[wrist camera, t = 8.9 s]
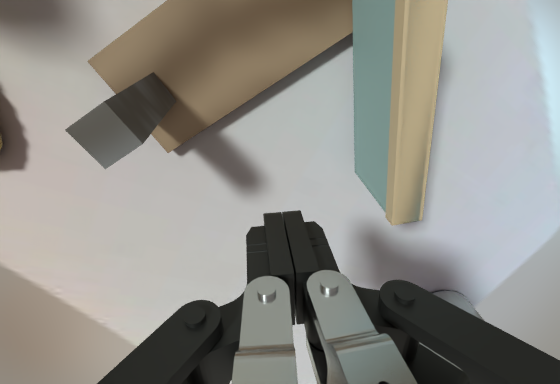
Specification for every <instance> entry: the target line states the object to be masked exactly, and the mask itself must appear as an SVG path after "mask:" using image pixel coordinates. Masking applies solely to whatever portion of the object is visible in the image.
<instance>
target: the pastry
mask: <svg viewBox="0 0 560 384" xmlns="http://www.w3.org/2000/svg"><path fill="white" fill-rule="evenodd" d="M2 145H3V142H2V136H1V134H0V150H1V148H2Z"/></svg>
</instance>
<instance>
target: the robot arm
mask: <svg viewBox="0 0 560 384" xmlns="http://www.w3.org/2000/svg"><path fill="white" fill-rule="evenodd" d="M263 215H264V226H258V227H251V229H250V230H249V232H248V234H247V235H246V244H247V286H246V288H245V291H244V292H243V294H242V295H241V296H240V297H239V298H237V299H236V300H234V301H233V302H230V303H228V304H225V305H223V306H220V307H218V306H217V305H216V304H214V303H213V302H210V301H207V300H197V301H193V302H190V303H187V304H185V305H184V306H182V307H181V308H180V309H178V310H177V311H176V312H175V313H174V314H173V315H172V316H171V317H170V318H169V319H167V320H166V321H165V322H164V323H163V324H162V325H161V326H160V327H159V328H158V329H156V330H155V331H154V332H153V333H152V334H151V335H150V336H149V337H148V338H147V339H145V340H144V341H143V342H142V343H141V344H140V345H139V346H138V347H137V348H136V349H134V350H133V351H132V352H131V353H130V354H129V355H128V356H127V357H126V358H125V359H124V360H122V361H121V362H120V363H119V364H118V365H117V366H116V367H115V368H114V369H113V370H111V371H110V372H109V373H108V374H107V375H106V376H105V377H104V378H103V379H102V380H101V381H99V382H98V383H97V384H229V383H230V381H231V380H232V384H298V380H297V368H296V356H295V348H294V343H293V330H292V325H295V317H296V322H297V324H304V325H305V330H306V346H307V350H308V353H309V357H310V360H311V364H312V367H313V371H314V374H315V378H316V381H317V384H560V360H557V359H556V358H554V357H552V356H550V355H548V354H546V353H544V352H543V351H541V350H538V349H537V348H535V347H533V346H531V345H529V344H527V343H525V342H523V341H522V340H520V339H517V338H516V337H514V336H512V335H510V334H508V333H506V332H504V331H502V330H501V329H499V328H497V327H494V326H493V325H491V324H489V323H487V322H485V321H484V320H483V319H482V317H481V316H480V315H479V314H478V312H477V311H476V310H475V309H474V307H473V306H472V305H471V304H470V303H469V301H468V300H467V299H466V298H465V297H464V296H463V295H462V294H460V293H458V292H454V291H439V292H435V293H430V292H428V291H426V290H424V289H423V288H421V287H419V286H417V285H415V284H413V283H410V282H407V281H403V280H392V281H388V282H386V283H385V284H383V285H382V287H381V289H380V291H379V290H372V289H366V288H361V287H358V286H355V285H353V284H351V282H350V281H349V279H348V278H347V277H346V276H344V275H343V274H341V273H340V271H339V269H338V266H337V264H336V261H335V259H334V256H333V254H332V251H331V249H330V246H329V244H328V241H327V239H326V236H325V234H324V231H323V229H322V228H321V227H320V226H319V225H318V224H317V223H316V222H314V221H313V222H304V220H303V217H302V214H301V211H300V210H299V211H288V212H282V213H281V212H277V213H265V214H263Z"/></svg>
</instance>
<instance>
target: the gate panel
mask: <svg viewBox="0 0 560 384" xmlns="http://www.w3.org/2000/svg"><path fill="white" fill-rule="evenodd" d="M447 4H448V0H352V10H353V81H354V151H355V173H356V174H357V175H358V177H359V178H360V179H361V181H362V182H363V183H364V185H365V186H366V187H367V189H368V190H369V191H370V193H371V194H372V195H373V197H374V198H375V199H376V201H377V202H378V203H379V205H380V206H381V207H382V209H383V210H384V211H385V213H386V216H385V217H386V218H387V220H388V221H389V222H390V224H391V225H398V224H404V223H409V222H415V221H420V220H422V215H423V207H424V198H425V190H426V182H427V173H428V165H429V156H430V148H431V139H432V131H433V122H434V114H435V106H436V97H437V89H438V80H439V72H440V63H441V55H442V46H443V38H444V30H445V21H446V13H447Z"/></svg>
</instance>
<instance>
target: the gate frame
mask: <svg viewBox="0 0 560 384" xmlns="http://www.w3.org/2000/svg"><path fill="white" fill-rule="evenodd" d="M352 32H353V10H352V0H167V1H166V2H164V3H163V4H162V5H160V6H159V7H158V8H157V9H155V10H154V11H153V12H151V13H150V14H149V15H147V16H146V17H145V18H143V19H142V20H141V21H139V22H138V23H137V24H136V25H134V26H133V27H132V28H130V29H129V30H128V31H126V32H125V33H124V34H122V35H121V36H120V37H118V38H117V39H116V40H115V41H113V42H112V43H111V44H109V45H108V46H107V47H105V48H104V49H103V50H101V51H100V52H99V53H98V54H96V55H95V56H94V57H92V58H91V59H90V60H88V63H89V64H90V65H91V66H92V67H93V68H94V69H95V71H96V72H97V73H98V74H99V75H100V76H101V77H102V79H103V80H104V81H105V82H106V83H107V84H108V85H109V87H110V88H111V89H112V90H113V91H114V92H115V93H116V95H114V96H113V97H111V98H109V99H108V100H106V101H104V102H103V103H101V104H100V105H99V106H97V107H96V108H95V109H93V110H92V111H90V112H89V113H88V114H86V115H85V116H84V117H82V118H81V119H79V120H78V121H77V122H75V123H74V124H72V125H71V126H70V127H68V128H67V129H66V131H67V132H68V133H69V134H70V135H71V136H72V137H73V138H74V139H75V140H76V141H77V142H78V143H79V144H80V145H81V146H82V147H83V148H84V149H85V150H86V151H87V152H88V153H89V154H90V155H91V156H92V157H93V158H95V159H96V160H97V161H98V162H99V163H100V164H101V165H102V166H103V167H104V168H105V169H106V168H108V167H109V166H111V165H112V164H114V163H115V162H117V161H118V160H120V159H121V158H123V157H124V156H126V155H127V154H129V153H130V152H132V151H133V150H135V149H136V148H137V147H139V146H140V145H142V144H143V143H144V142H145V140H146V139H147V138H148V137H149V135H150V134H152V136H153V137H154V138H155V139H156V140H157V141H158V142H159V143H160V145H161V146H162V147H163V148H164V149H165V150H166V151H167V153H169V152H171V151H172V150H174V149H175V148H177V147H178V146H180V145H181V144H183V143H184V142H186V141H187V140H189V139H190V138H192V137H193V136H195V135H196V134H198V133H200V132H201V131H203V130H204V129H206V128H207V127H209V126H210V125H212V124H213V123H215V122H216V121H218V120H219V119H221V118H222V117H224V116H225V115H227V114H229V113H230V112H232V111H233V110H235V109H236V108H238V107H239V106H241V105H242V104H244V103H245V102H247V101H248V100H250V99H251V98H253V97H254V96H256V95H257V94H259V93H261V92H262V91H264V90H265V89H267V88H268V87H270V86H271V85H273V84H274V83H276V82H277V81H279V80H280V79H282V78H283V77H285V76H286V75H288V74H290V73H291V72H293V71H294V70H296V69H297V68H299V67H300V66H302V65H303V64H305V63H306V62H308V61H309V60H311V59H312V58H314V57H315V56H317V55H318V54H320V53H322V52H323V51H325V50H326V49H328V48H329V47H331V46H332V45H334V44H335V43H337V42H338V41H340V40H341V39H343V38H344V37H346V36H347V35H349V34H351V33H352Z"/></svg>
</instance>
